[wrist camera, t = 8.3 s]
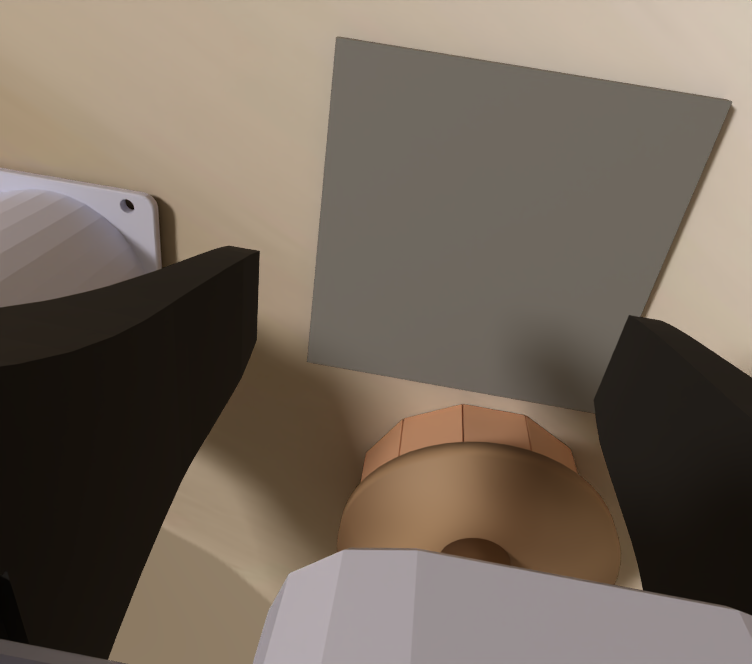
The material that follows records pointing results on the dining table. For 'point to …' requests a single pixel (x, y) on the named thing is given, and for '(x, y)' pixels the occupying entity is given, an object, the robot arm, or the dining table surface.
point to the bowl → (466, 434)
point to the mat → (495, 218)
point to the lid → (486, 510)
